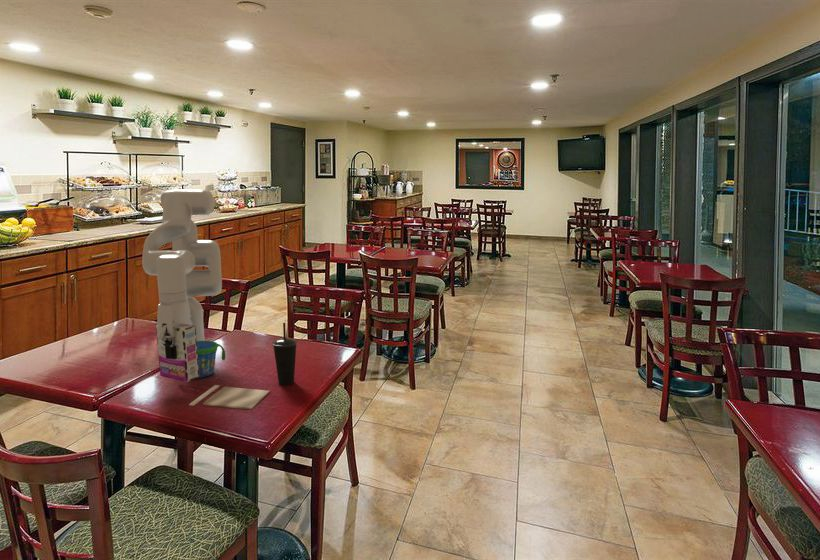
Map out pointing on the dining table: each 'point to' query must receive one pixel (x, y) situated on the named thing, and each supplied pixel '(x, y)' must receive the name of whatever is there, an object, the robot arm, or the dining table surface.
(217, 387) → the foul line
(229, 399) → the board
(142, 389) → the dining table surface
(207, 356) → the snack cup
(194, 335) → the candy bar box
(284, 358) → the drinking cup
